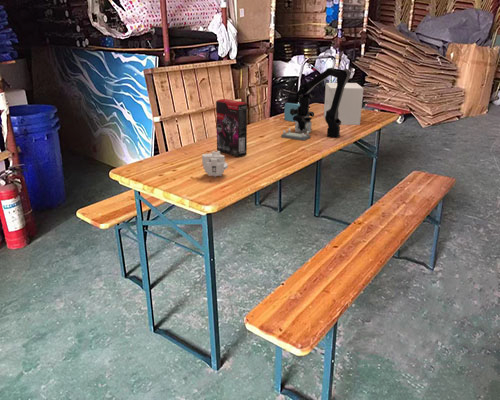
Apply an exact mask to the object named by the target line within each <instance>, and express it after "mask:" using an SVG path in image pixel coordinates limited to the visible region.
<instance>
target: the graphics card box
mask: <svg viewBox="0 0 500 400" xmlns="http://www.w3.org/2000/svg"><path fill="white" fill-rule="evenodd" d="M215 109H216V114H215V115H216V116H215V117H216V152H217V151H220V153H224V154H227V155H231V156H235V157H238V158H239V157H243V156H246V155H247V149H248V145H247V142H248V139H247V136H248V134H247V132H248V127H247V125H248V123H247V122H248V120H247V118H248V116H247V115H248V114H247V113H248V110H247V109H248V103H247V102H243V101H238V100H234V99H233V100H232V99H227V98H220V99H217V100H216V101H215Z"/></svg>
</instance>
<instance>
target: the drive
mask: <svg viewBox="0 0 500 400" xmlns="http://www.w3.org/2000/svg"><path fill="white" fill-rule="evenodd" d="M294 127H295V128H294V133H300V134H302V133H304V134H307V131H309V134H311V133H312V121H311V120H310V121H306V122H305V124H304V127H303V130H302V131H301V130H300V127H299V123H298V122H297V121H295V122H294Z"/></svg>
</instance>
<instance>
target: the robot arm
mask: <svg viewBox="0 0 500 400" xmlns="http://www.w3.org/2000/svg"><path fill="white" fill-rule="evenodd" d="M330 76H331V77H333V78H336V83H337V88H336V91H335V95H334V99H333V102H332V106H331V109H329V110H327V111H326V116H325V117H326V118H324V120H325V122H326V124H327V126H328V128H327V132H326V137H329V138H335V139H336V138H339V137H341V134H340V133H341V132H340V131H341V125H340V124H341V121H340V120H339V118H338V114H339V113H338V108H339V104H340V101H341V97H342V94H343V90H344V87H345V85H346V83H349V82H348V81H349V80H350V77H351V71H350V70H349V69H348V68H344V69H340V68H334V67H328V68H327V69H326V70H324V71H322V73H319V74H318V75H317V76H316V77H314V78H313V79H312V80H310V81H307V82H305V83H302V84H300V85H299V87H298V88H299V89H298V90H297V92H294V91H290V92H289V93H288V97H287V98H286V99H287V103H292V104H300V106H299V107H298V109H290V114H291V115H292V116H293V115H295V114H297V115H295V116H294V117H293V120H294V121H297V122H298V123H299V127H300V130H301V131H302V130H303V127H304V124H305V122H306V121H311V120H312V118H314V117H315V112H314V111H310V109H311V106H310V99H313V98H314V96H313V95H312V94H311V91H312V90H314V88H315V87H316V86H317V85H318V84H319V83H322V82H323V81H324V80H327V78H329V77H330Z"/></svg>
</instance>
